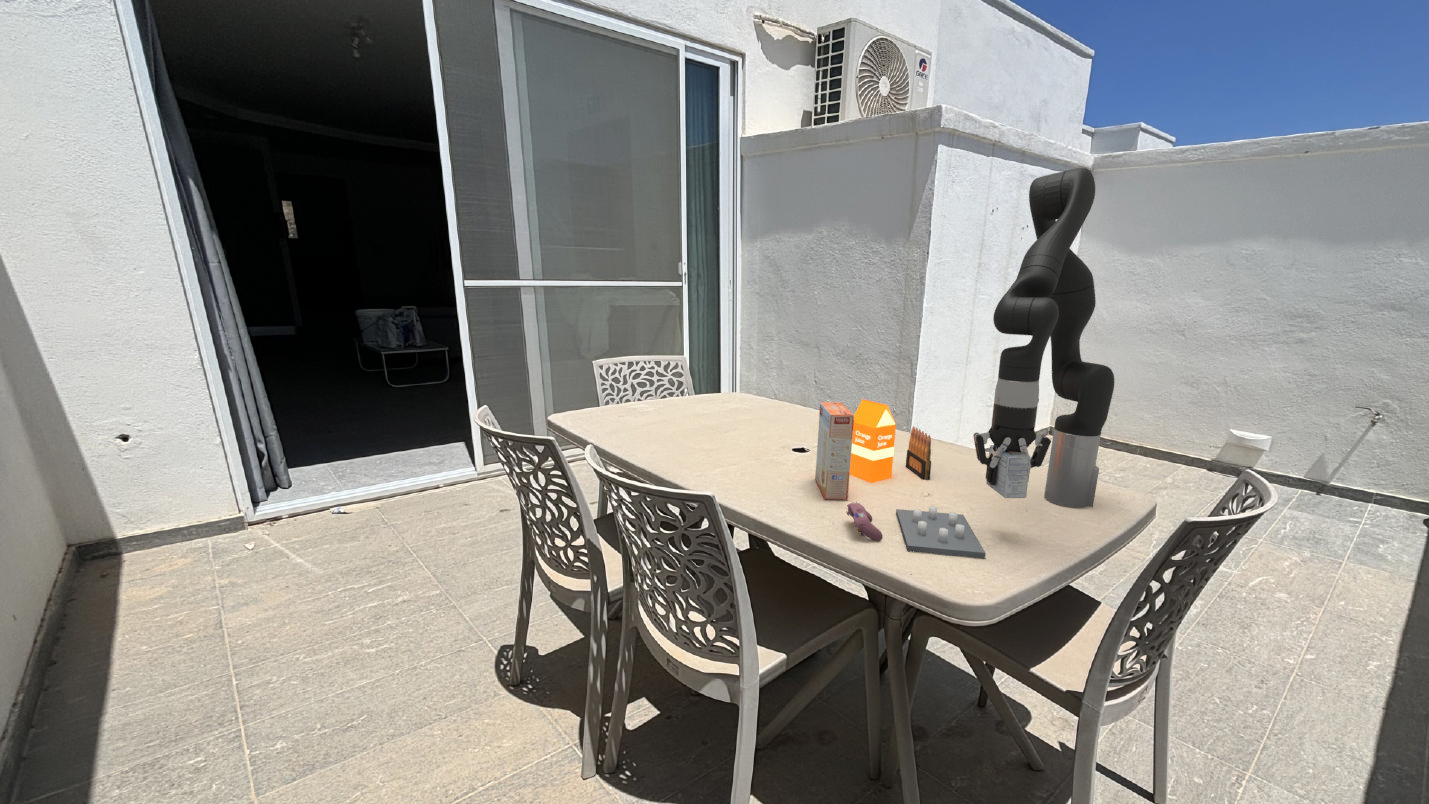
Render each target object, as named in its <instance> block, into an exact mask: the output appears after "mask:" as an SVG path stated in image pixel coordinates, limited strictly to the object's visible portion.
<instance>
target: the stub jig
mask: <svg viewBox="0 0 1429 804" xmlns="http://www.w3.org/2000/svg"><path fill="white" fill-rule="evenodd" d="M895 516H896V519H897V524H898V525H899V529H900V532H901V536H902V539H903V542H904V545H906V546H905V548H906V552H910V551H912V552H913V551H914V552H913V553H922V554H930V553H932V554H933V555H940V556H941V555H942V556H954V557H965V558H973V559H985V560H986V554H987V553H986V551H985V549H984V547H983V546H982V544H981V543H980V541H979V539H978V538H977V536H976V534H975V533H974V530H973V529H972V528H971V525H970V524H969V522H968V520H967V518H966V517H965V515H964V514H959V513H956V512H953V511H952V512H949V513H946V512H938V507H936V506H934V505H932V506H929V507H928V511H924V510H923V511H922V509H917V508H916V509H914V510H913V509H911V510H910V509H899V508H896V509H895Z"/></svg>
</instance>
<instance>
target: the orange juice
mask: <svg viewBox="0 0 1429 804" xmlns="http://www.w3.org/2000/svg"><path fill="white" fill-rule="evenodd" d="M853 415H854V425H853V437H852V450H851V463H850V475H849V476H853V477H856V478H858V479H861V480H863V481H865V482H868V483H870V484H872V483H873V484H874V483H876V482H877V483H878V482H881V481H885V480H889V479H892V477H893V476H892V474H893V462H894V456H895V455H894V453H895V441H896V429H897V428H896V427H897V424H896V422H895V419H894V417H893V415H892V412H891V410H890V408H889V405H888V404H885V403H884V404H883V403H879V402H876V401H872V400H867V399H864V398H863V399H861V401H860V404H859V405H858V407H857V409H856V411H855V412H854V414H853Z"/></svg>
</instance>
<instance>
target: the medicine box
mask: <svg viewBox="0 0 1429 804" xmlns="http://www.w3.org/2000/svg"><path fill="white" fill-rule="evenodd" d="M993 445H994V444H993ZM993 445H991V444H990V446H989V453H988V455H989V454H990V451H991V448H992V447H993ZM997 450H998V449H996V451H997ZM1031 457H1032V456H1030V454H1029V455H1027V454H1025V453H1021V452H1004V453H1003V454H1002V458H1000V459H999V461H998V463H997V465H996V468H997V473H996V482H995V485H990V484H989V482H988V481H987V480H986V482H985V484H986V485H987V486H988V487H990V488H991V489H993V491H995V492H996V493H997V494H999V495H1000V496H1002V497H1003V498H1004V499H1025V498H1027V493H1028V484H1029V481H1028V477H1029V478H1030V473H1029V468H1030V459H1031Z"/></svg>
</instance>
